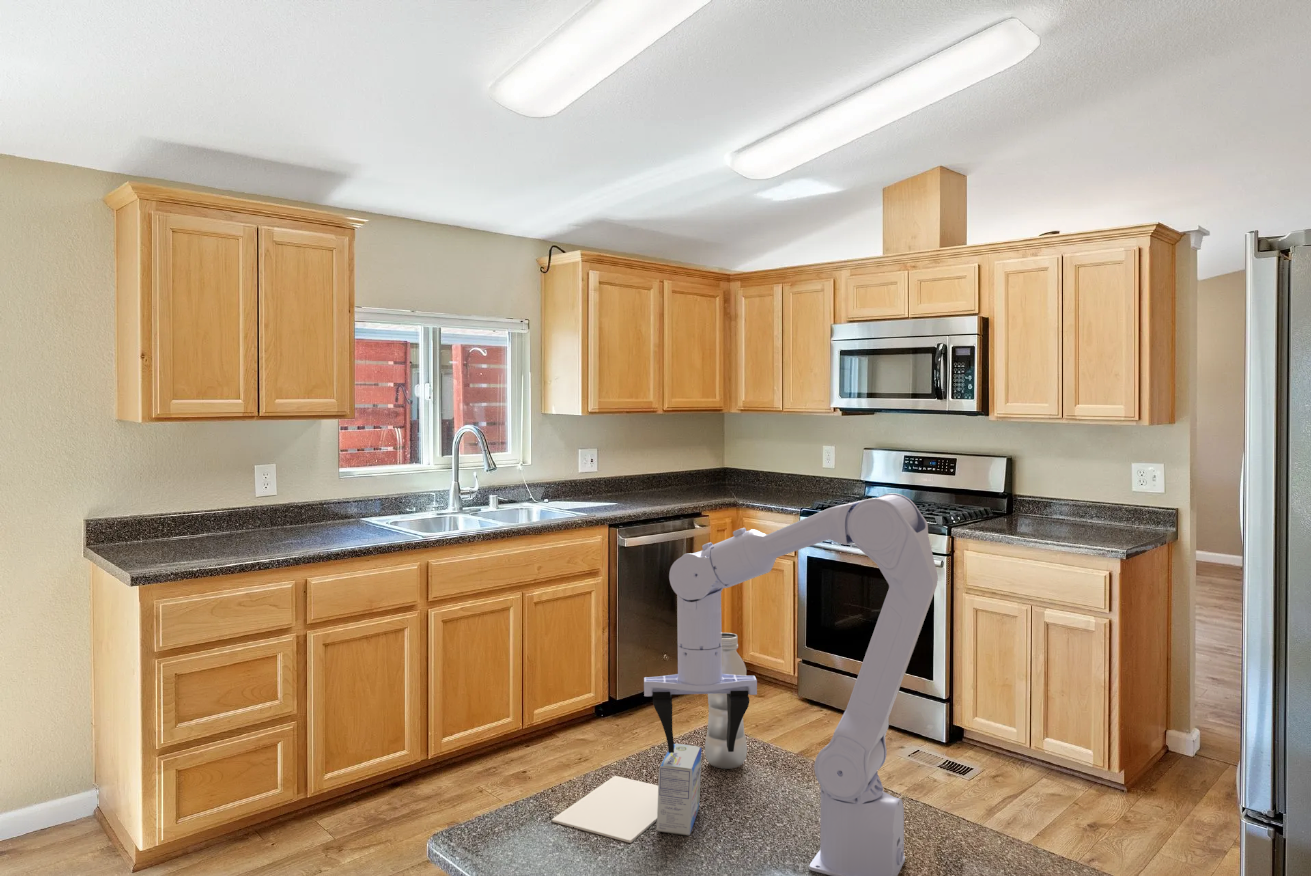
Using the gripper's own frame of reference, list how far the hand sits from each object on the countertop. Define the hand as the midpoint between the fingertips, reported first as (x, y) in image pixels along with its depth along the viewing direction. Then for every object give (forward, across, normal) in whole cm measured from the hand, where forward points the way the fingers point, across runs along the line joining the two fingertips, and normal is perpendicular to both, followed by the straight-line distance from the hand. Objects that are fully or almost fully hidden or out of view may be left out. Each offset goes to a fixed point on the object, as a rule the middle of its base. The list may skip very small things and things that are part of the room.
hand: (700, 749), depth 110 cm
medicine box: (+10, +3, -2) cm, 11 cm away
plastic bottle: (+10, -5, -20) cm, 23 cm away
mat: (+10, +10, -6) cm, 16 cm away
